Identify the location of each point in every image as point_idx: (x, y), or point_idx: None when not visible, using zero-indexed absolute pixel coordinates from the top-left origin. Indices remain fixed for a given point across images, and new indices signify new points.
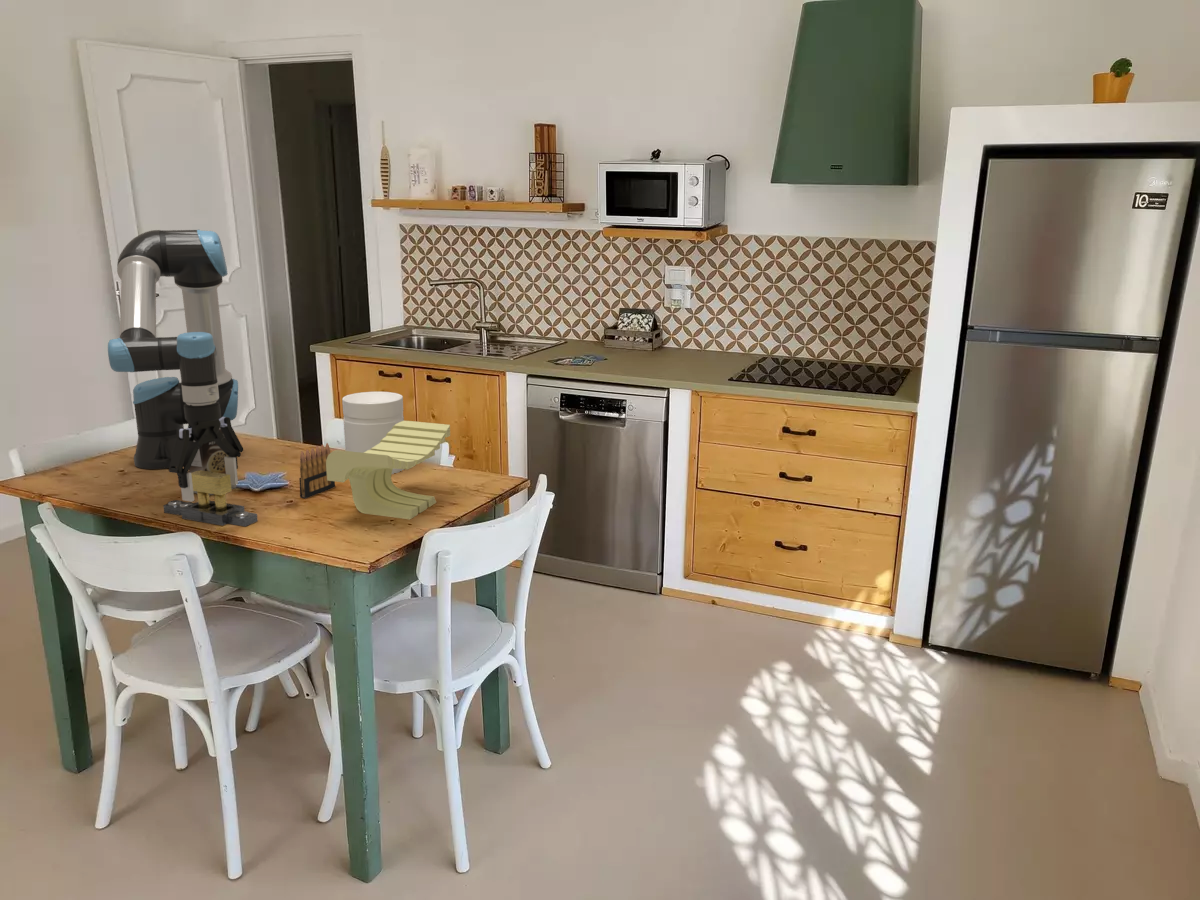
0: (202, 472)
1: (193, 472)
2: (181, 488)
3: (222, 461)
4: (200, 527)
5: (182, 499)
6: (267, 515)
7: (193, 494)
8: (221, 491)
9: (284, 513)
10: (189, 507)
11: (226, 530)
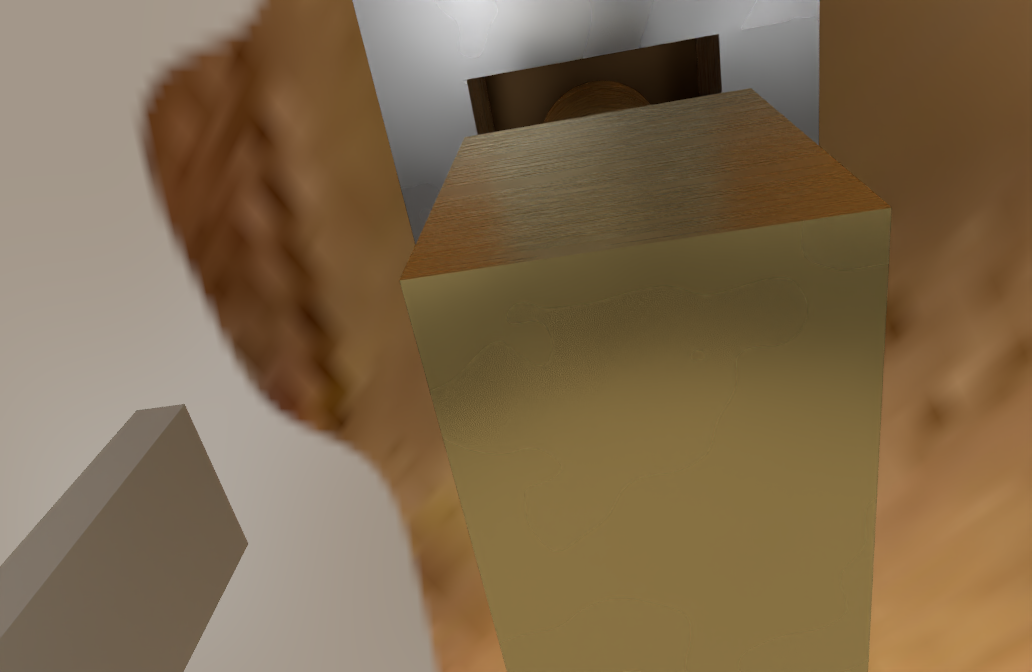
0: (721, 482)
1: (581, 278)
2: (22, 554)
3: None
4: (360, 378)
5: (131, 420)
6: (887, 579)
7: (208, 616)
8: None
9: (984, 640)
10: (445, 72)
11: (453, 579)
